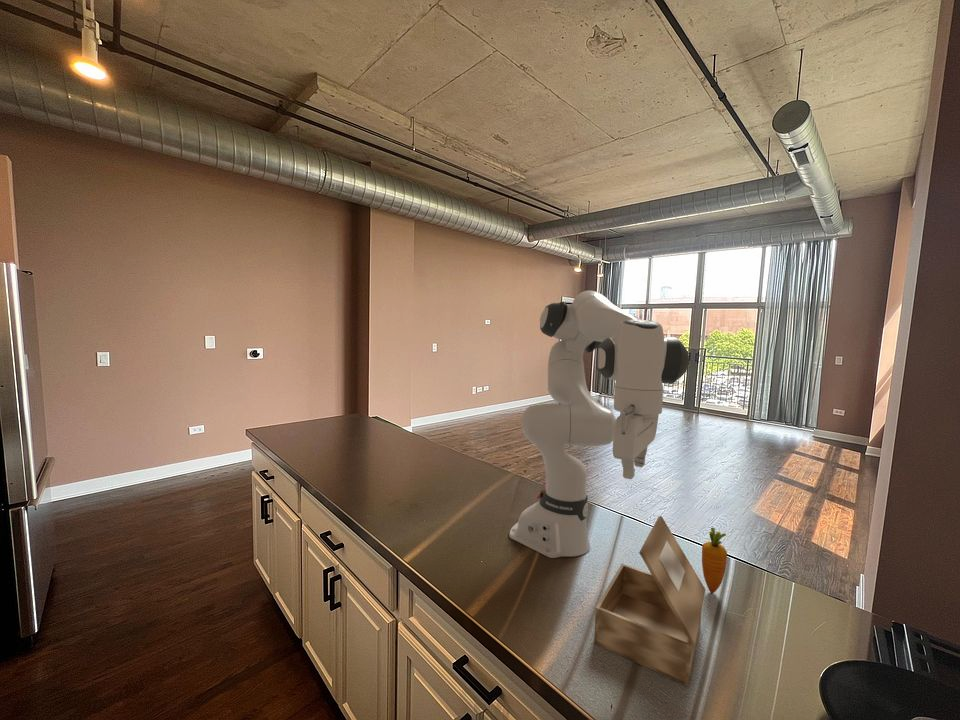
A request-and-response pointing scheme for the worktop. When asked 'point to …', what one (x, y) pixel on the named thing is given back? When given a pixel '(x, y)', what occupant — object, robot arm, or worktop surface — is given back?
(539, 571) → the worktop surface
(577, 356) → the robot arm
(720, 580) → the carrot
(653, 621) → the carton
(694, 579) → the lid
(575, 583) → the worktop surface
